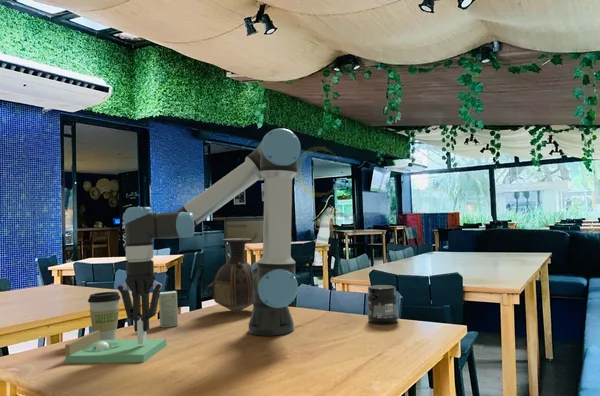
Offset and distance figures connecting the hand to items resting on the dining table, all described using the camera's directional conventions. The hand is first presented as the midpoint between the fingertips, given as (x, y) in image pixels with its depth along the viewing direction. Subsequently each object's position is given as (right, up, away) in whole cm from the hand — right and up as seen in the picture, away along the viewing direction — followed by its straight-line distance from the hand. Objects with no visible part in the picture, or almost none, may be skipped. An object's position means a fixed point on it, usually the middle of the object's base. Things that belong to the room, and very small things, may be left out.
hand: (142, 342), depth 129 cm
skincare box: (-2, -5, +34) cm, 34 cm away
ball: (-12, -2, +1) cm, 12 cm away
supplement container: (+74, -2, +28) cm, 80 cm away
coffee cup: (-18, -5, +16) cm, 24 cm away
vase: (+20, -5, +53) cm, 57 cm away
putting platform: (-7, -3, 0) cm, 8 cm away
